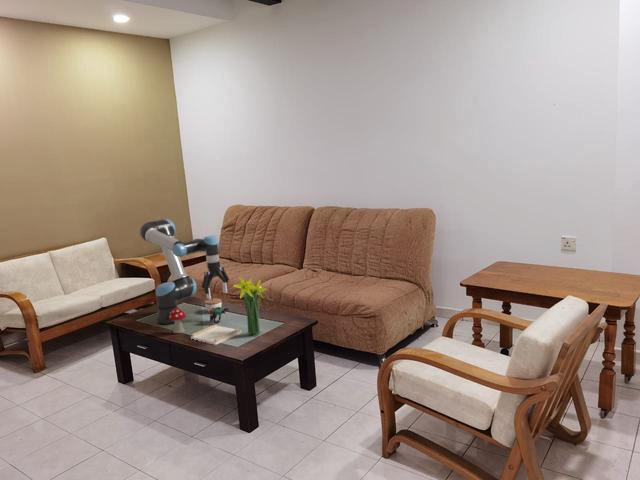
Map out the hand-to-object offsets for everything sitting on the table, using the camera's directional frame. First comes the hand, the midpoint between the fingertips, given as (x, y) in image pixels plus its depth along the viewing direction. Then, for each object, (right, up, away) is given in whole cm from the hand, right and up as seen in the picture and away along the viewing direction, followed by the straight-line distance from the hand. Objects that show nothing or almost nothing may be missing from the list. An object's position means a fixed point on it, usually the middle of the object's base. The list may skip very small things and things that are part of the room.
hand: (217, 295), depth 310 cm
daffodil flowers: (+26, -20, -22) cm, 39 cm away
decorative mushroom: (-20, -21, -11) cm, 31 cm away
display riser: (+4, -21, -21) cm, 29 cm away
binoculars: (+1, -17, +3) cm, 17 cm away
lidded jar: (-7, -14, +26) cm, 30 cm away
